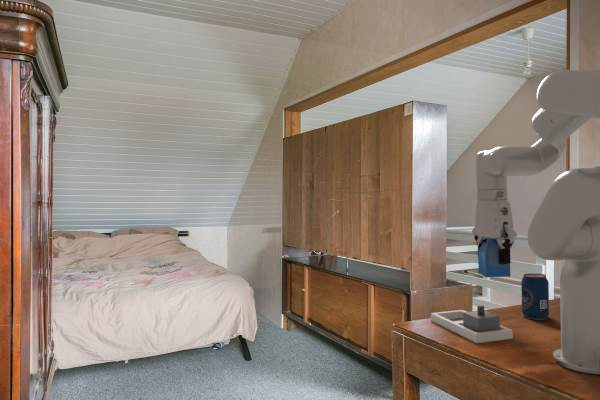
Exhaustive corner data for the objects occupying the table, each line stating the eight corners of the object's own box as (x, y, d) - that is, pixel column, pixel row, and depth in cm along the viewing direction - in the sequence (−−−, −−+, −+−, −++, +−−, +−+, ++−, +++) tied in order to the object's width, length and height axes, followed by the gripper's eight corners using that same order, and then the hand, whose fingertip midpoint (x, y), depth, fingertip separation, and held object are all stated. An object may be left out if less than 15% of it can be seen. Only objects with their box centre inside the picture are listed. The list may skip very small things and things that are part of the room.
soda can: (516, 314, 133) (515, 273, 132) (538, 313, 134) (537, 272, 134) (532, 321, 126) (531, 278, 126) (555, 319, 127) (554, 276, 127)
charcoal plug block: (499, 336, 110) (499, 308, 110) (478, 339, 109) (477, 310, 109) (484, 329, 116) (483, 302, 116) (463, 332, 115) (462, 304, 115)
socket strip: (512, 342, 109) (512, 330, 109) (476, 347, 106) (476, 334, 106) (462, 320, 128) (462, 309, 128) (431, 323, 126) (430, 313, 126)
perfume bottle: (501, 272, 125) (500, 229, 125) (510, 276, 119) (509, 230, 119) (478, 273, 126) (477, 229, 126) (486, 277, 119) (484, 231, 119)
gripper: (527, 195, 115) (529, 265, 115) (483, 196, 132) (484, 257, 132) (502, 196, 113) (504, 267, 113) (460, 197, 130) (462, 259, 130)
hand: (493, 261), depth 122 cm, fingers closed on perfume bottle, 7 cm apart
